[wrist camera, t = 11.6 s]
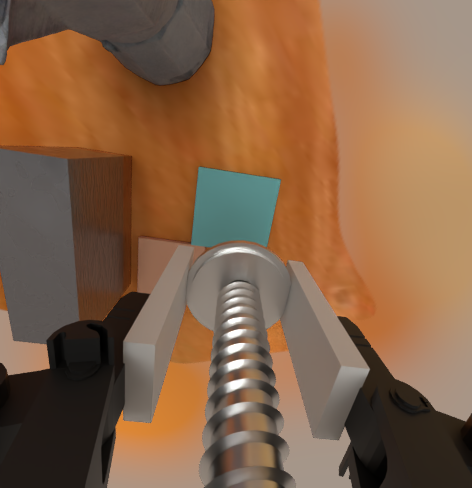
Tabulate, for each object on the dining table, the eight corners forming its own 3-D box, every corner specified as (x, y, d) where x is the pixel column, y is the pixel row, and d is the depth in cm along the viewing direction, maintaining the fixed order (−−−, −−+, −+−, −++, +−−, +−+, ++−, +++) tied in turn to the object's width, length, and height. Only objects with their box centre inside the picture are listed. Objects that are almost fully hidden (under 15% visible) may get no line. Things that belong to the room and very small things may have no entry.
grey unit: (82, 277, 28) (8, 340, 19) (73, 146, 24) (-32, 143, 14) (130, 283, 29) (81, 348, 19) (131, 155, 24) (67, 158, 15)
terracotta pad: (139, 292, 29) (137, 295, 29) (140, 235, 27) (138, 237, 26) (199, 299, 30) (198, 302, 29) (205, 244, 27) (205, 246, 27)
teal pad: (191, 242, 27) (191, 244, 27) (199, 166, 24) (198, 167, 24) (264, 252, 28) (265, 255, 27) (279, 179, 25) (280, 179, 24)
